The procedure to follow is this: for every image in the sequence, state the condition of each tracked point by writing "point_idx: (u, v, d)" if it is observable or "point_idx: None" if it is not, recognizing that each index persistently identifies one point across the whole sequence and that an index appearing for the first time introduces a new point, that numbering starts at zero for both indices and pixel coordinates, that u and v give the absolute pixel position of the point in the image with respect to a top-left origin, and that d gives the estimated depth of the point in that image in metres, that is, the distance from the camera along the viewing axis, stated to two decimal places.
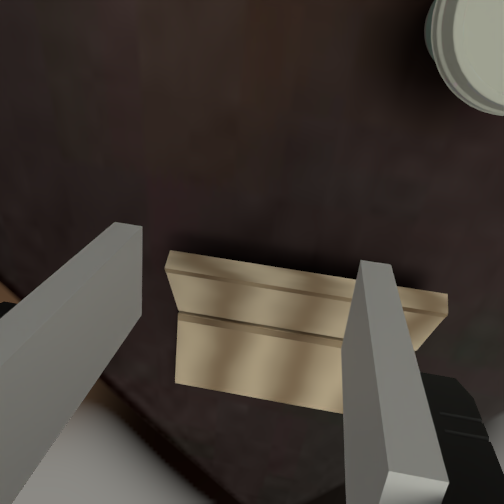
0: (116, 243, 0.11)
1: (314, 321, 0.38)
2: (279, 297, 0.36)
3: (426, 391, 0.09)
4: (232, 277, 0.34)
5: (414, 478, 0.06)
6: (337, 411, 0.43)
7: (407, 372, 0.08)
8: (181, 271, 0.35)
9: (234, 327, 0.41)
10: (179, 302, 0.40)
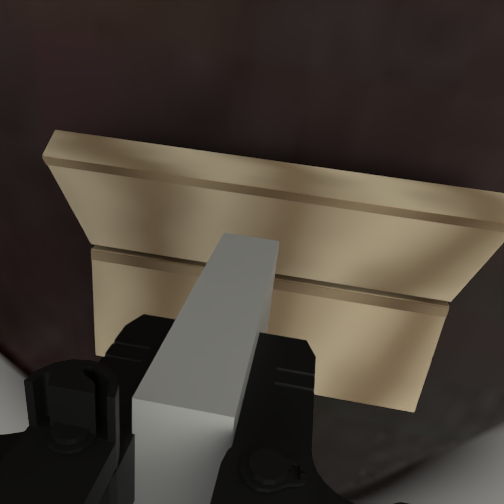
0: (237, 254, 0.12)
1: (294, 253, 0.24)
2: (235, 206, 0.22)
3: (271, 351, 0.09)
4: (154, 169, 0.21)
5: (206, 414, 0.07)
6: (330, 395, 0.29)
7: (245, 330, 0.09)
8: (70, 161, 0.21)
9: (175, 269, 0.27)
10: (88, 228, 0.26)
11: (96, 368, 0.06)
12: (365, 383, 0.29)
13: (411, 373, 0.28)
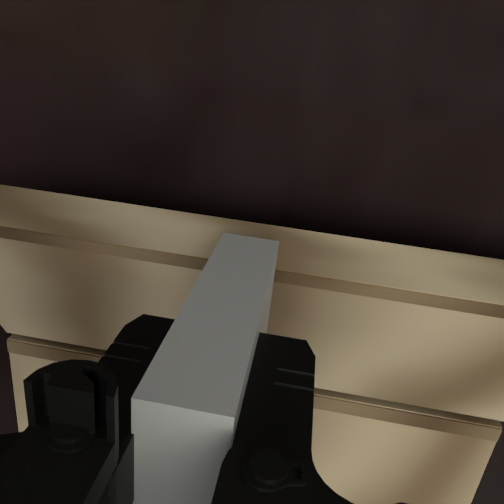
0: (236, 254, 0.12)
1: None
2: None
3: (271, 351, 0.09)
4: (72, 233, 0.14)
5: (206, 414, 0.07)
6: None
7: (244, 330, 0.09)
8: None
9: None
10: None
11: (95, 368, 0.06)
12: None
13: None
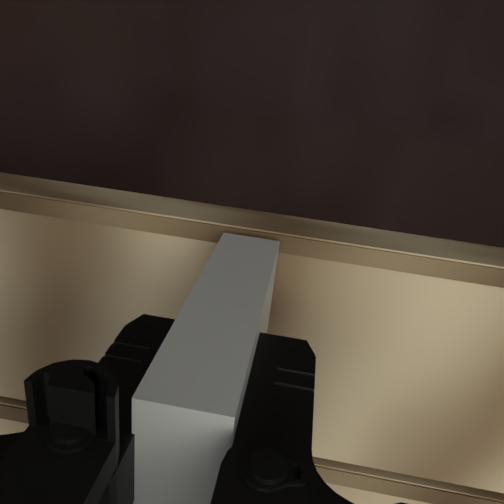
0: (236, 254, 0.12)
1: None
2: (188, 275, 0.14)
3: (272, 351, 0.09)
4: (71, 199, 0.14)
5: (206, 414, 0.07)
6: None
7: (245, 330, 0.09)
8: None
9: None
10: None
11: (96, 368, 0.06)
12: None
13: None
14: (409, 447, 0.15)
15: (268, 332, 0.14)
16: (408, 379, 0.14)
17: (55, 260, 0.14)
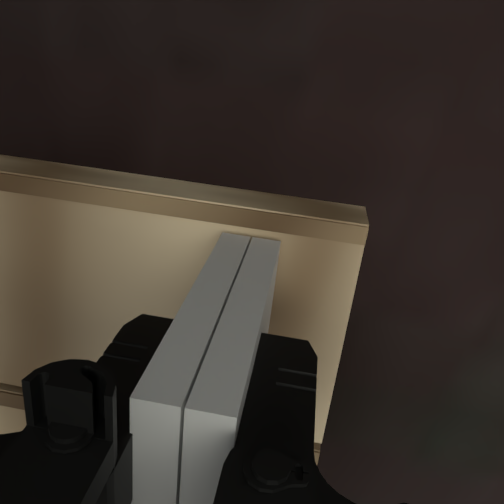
0: (235, 254, 0.12)
1: (60, 331, 0.15)
2: None
3: (273, 351, 0.09)
4: None
5: (208, 415, 0.07)
6: None
7: (246, 330, 0.09)
8: None
9: None
10: None
11: (93, 367, 0.06)
12: None
13: None
14: None
15: (43, 277, 0.14)
16: None
17: None
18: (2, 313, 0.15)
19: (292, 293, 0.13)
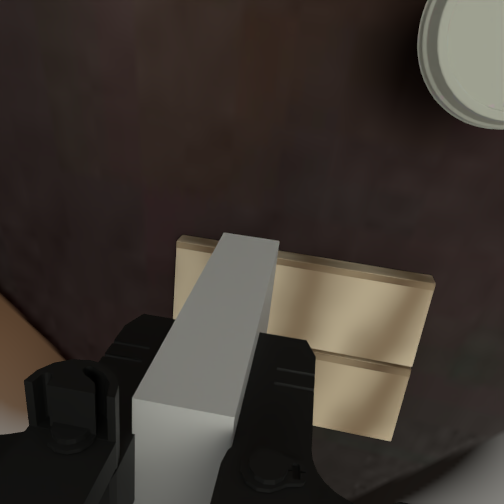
0: (237, 254, 0.12)
1: (309, 320, 0.39)
2: (279, 278, 0.38)
3: (272, 351, 0.09)
4: None
5: (206, 414, 0.07)
6: (332, 428, 0.42)
7: (244, 330, 0.09)
8: (191, 244, 0.38)
9: None
10: (177, 305, 0.41)
11: (96, 368, 0.06)
12: (356, 420, 0.42)
13: (388, 414, 0.41)
14: (361, 345, 0.39)
15: (308, 299, 0.38)
16: (360, 317, 0.38)
17: None
18: (287, 313, 0.39)
19: (405, 307, 0.37)
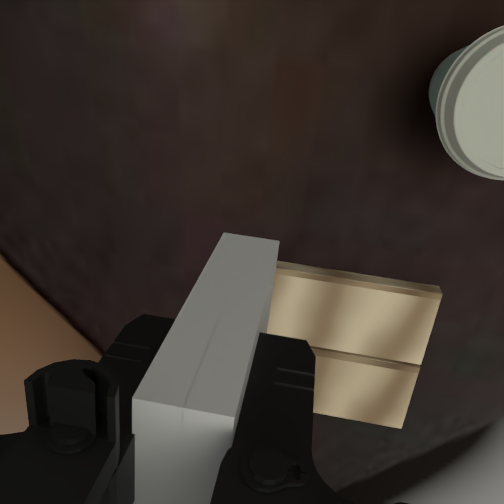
0: (236, 254, 0.12)
1: (331, 326, 0.44)
2: (305, 289, 0.43)
3: (271, 351, 0.09)
4: None
5: (206, 414, 0.07)
6: (350, 418, 0.48)
7: (244, 330, 0.09)
8: None
9: None
10: None
11: (96, 368, 0.06)
12: (371, 411, 0.47)
13: (399, 405, 0.47)
14: (377, 347, 0.44)
15: (330, 308, 0.44)
16: (376, 323, 0.44)
17: None
18: (311, 319, 0.44)
19: (416, 314, 0.43)
